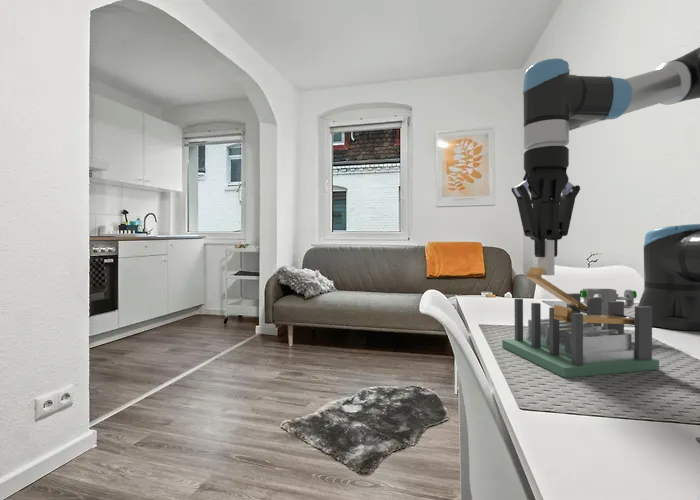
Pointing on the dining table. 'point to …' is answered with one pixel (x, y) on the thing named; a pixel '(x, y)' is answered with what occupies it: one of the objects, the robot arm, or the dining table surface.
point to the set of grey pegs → (593, 308)
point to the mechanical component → (609, 298)
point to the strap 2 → (591, 317)
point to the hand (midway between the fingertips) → (545, 274)
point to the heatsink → (589, 342)
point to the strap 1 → (554, 289)
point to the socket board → (564, 363)
